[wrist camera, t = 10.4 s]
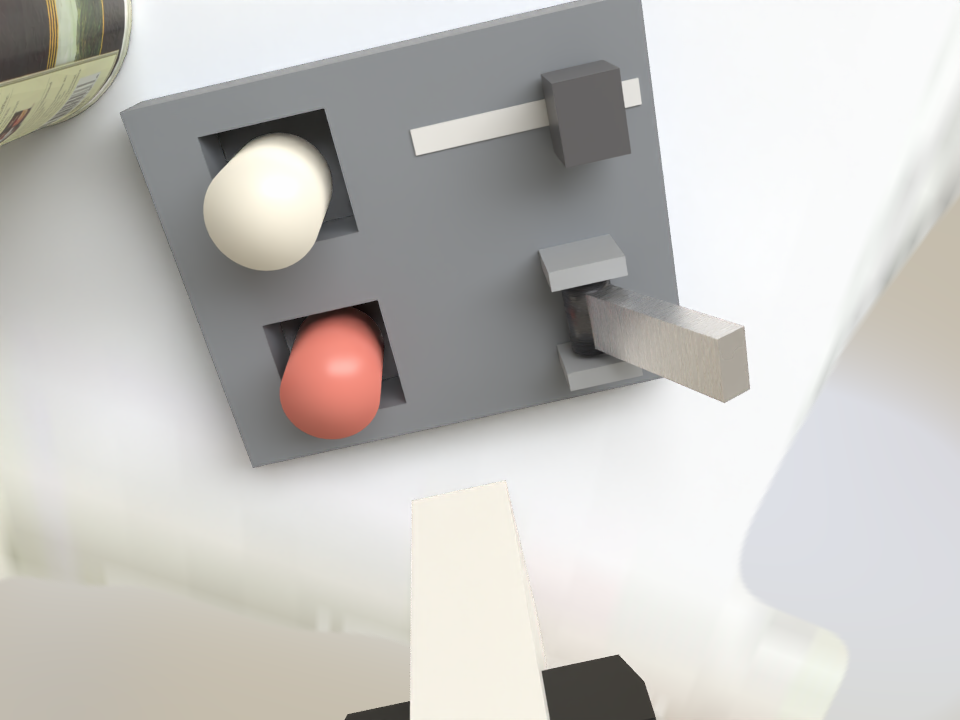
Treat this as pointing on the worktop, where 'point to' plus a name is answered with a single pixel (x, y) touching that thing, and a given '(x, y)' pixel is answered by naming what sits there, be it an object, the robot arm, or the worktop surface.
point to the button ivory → (269, 202)
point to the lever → (659, 338)
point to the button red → (334, 374)
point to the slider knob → (586, 113)
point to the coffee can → (57, 59)
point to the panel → (428, 220)
